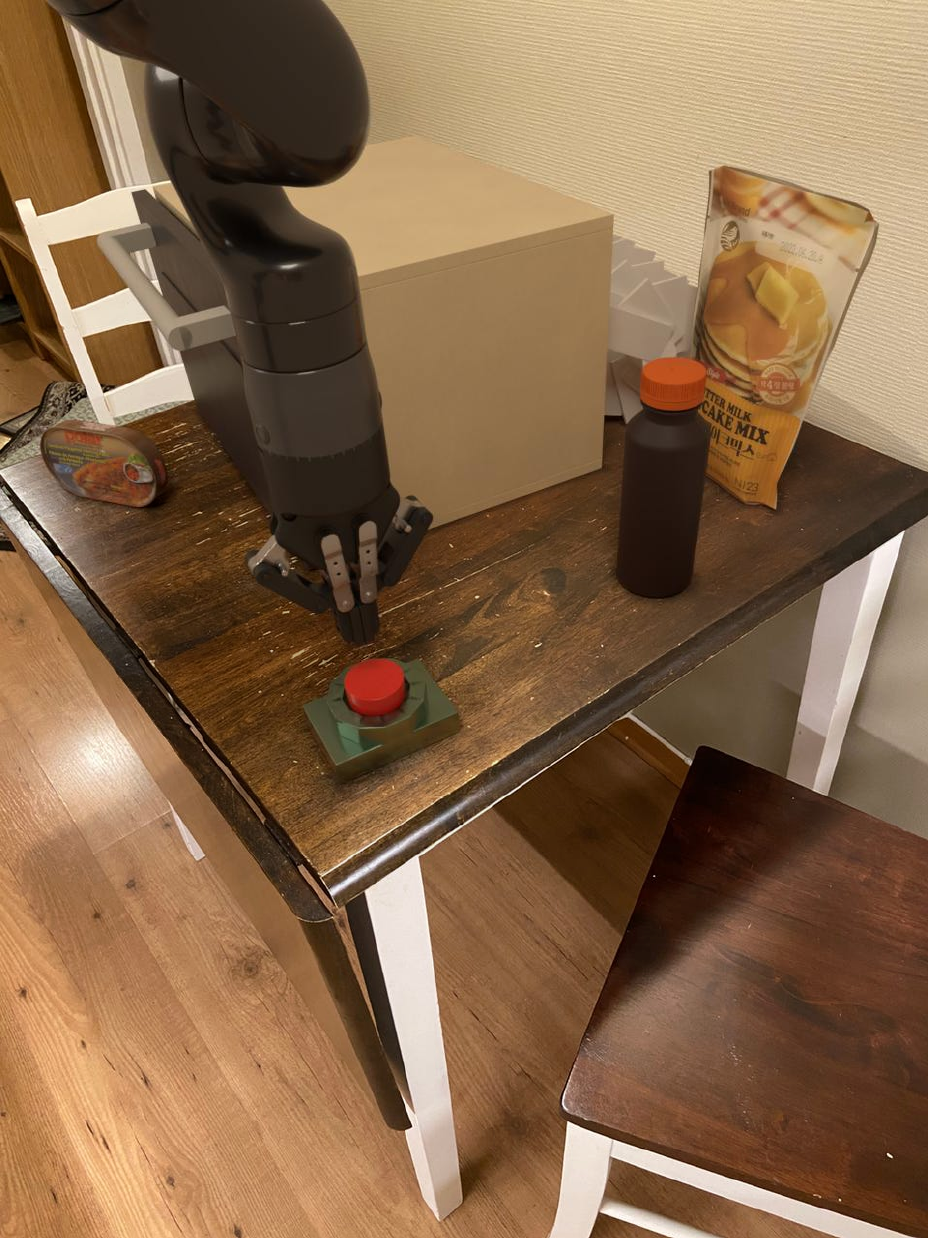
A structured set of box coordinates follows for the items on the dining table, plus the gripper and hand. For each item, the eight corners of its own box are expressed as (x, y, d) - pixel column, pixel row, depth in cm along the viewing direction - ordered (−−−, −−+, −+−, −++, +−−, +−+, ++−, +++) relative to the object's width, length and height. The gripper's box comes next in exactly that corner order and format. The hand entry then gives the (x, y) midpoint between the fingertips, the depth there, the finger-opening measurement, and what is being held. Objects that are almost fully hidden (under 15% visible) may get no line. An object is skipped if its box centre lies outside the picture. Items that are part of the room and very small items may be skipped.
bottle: (600, 573, 81) (610, 369, 68) (652, 545, 84) (672, 343, 71) (654, 609, 77) (676, 399, 64) (707, 578, 80) (739, 370, 67)
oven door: (253, 591, 82) (172, 325, 65) (154, 421, 110) (78, 202, 93) (324, 565, 84) (263, 300, 68) (209, 405, 112) (145, 188, 95)
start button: (361, 725, 64) (358, 708, 63) (338, 688, 67) (335, 671, 66) (416, 702, 65) (413, 685, 64) (391, 667, 68) (388, 650, 67)
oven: (326, 566, 85) (271, 296, 68) (211, 405, 112) (152, 185, 95) (602, 468, 95) (614, 213, 78) (435, 343, 123) (417, 135, 106)
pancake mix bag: (704, 424, 101) (739, 155, 83) (820, 505, 87) (892, 204, 69) (654, 439, 99) (679, 167, 81) (764, 524, 85) (824, 220, 67)
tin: (54, 492, 98) (25, 423, 93) (73, 477, 100) (46, 410, 95) (164, 514, 93) (140, 443, 88) (181, 498, 96) (159, 428, 90)
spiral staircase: (593, 374, 121) (687, 450, 102) (480, 342, 113) (561, 418, 94) (650, 239, 113) (765, 293, 94) (533, 194, 105) (633, 244, 86)
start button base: (341, 786, 64) (332, 750, 62) (305, 723, 69) (296, 687, 67) (461, 732, 67) (458, 696, 65) (419, 675, 72) (415, 639, 70)
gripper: (393, 367, 56) (419, 579, 68) (191, 425, 52) (255, 642, 63) (447, 412, 51) (466, 634, 63) (228, 482, 47) (291, 706, 58)
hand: (359, 638), depth 63 cm, fingers closed
